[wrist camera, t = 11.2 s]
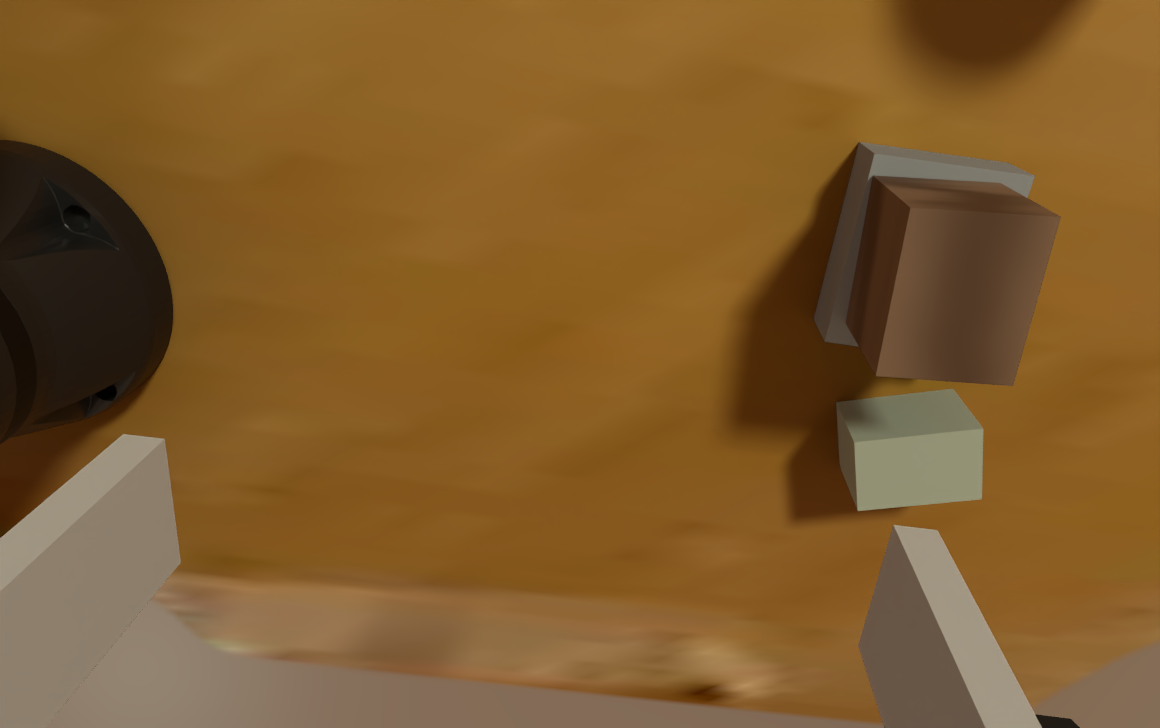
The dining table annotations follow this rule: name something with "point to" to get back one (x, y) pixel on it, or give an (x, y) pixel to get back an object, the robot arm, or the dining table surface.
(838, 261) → the grey slab
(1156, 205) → the dining table surface
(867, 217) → the walnut block
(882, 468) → the sage block
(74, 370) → the robot arm
